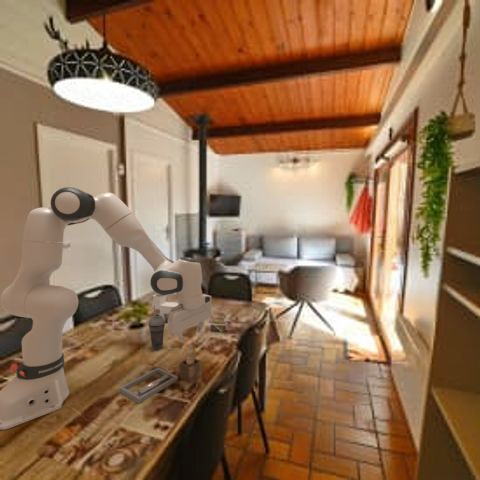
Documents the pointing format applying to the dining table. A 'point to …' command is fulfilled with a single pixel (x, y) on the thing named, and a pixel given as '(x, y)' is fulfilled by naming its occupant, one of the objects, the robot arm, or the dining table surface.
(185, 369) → the pen pot
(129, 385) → the tray
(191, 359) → the dowel
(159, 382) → the metal rod
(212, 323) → the platform
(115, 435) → the dining table surface
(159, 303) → the toy llama
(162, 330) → the beverage cup
